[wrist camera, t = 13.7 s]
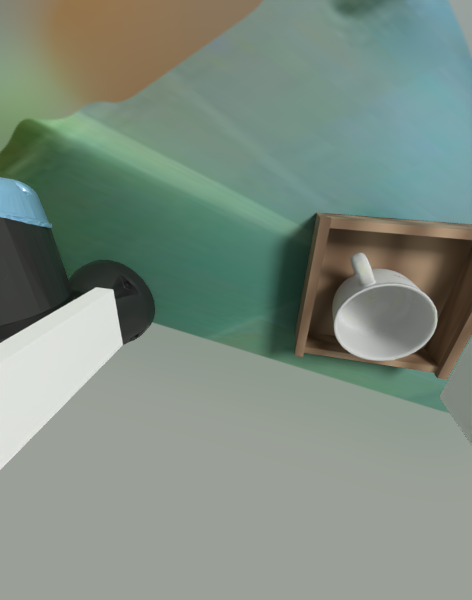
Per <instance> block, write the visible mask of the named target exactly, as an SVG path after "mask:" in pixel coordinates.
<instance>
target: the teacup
mask: <svg viewBox="0 0 472 600" xmlns="http://www.w3.org/2000/svg"><path fill="white" fill-rule="evenodd" d="M350 262H351V265H352V268H353V271H354V275H352V276H351V277H349V278H348V279H346V280H345V281H344V282H343V283H342V284H341V285H340V286H339V288H338V289H337V291H336V293H335V295H334V299H333V304H332V314H333V322H334V326H333V327H334V333H335V336H336V338H337V340H338V342H339V343H340V344H341V346H342V347H343V348H344V349H345V350H347V351H348V352H349V353H351V354H353V355H355V356H357V357H360V358H363V359H367V360H375V361H387V360H395V359H399V358H402V357H405V356H408V355H410V354H412V353H414V352H416V351H417V350H419V349H420V348H421V347H423V346H424V345H425V344H426V343H427V342H428V341H429V340H430V338H431V337H432V335H433V334H434V331H435V329H436V326H437V321H438V318H437V310H436V307H435V305H434V304H433V302H432V300H431V299H430V298H429V297H428V296H427V295H426V294H425V293H424V292H422V291H421V290H420V289H419V288H418V287H417V286H416V285H415V284H414V283H413V282H412V281H410V280H409V279H408V278H407V277H405V276H403V275H402V274H400V273H398V272H395V271H392V270H388V269H371V266H370V264H369V262H368V259H367V258H366V256H365V254H363V253H357V254H355V255H353V256H351V258H350Z"/></svg>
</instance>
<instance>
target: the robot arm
mask: <svg viewBox="0 0 472 600" xmlns="http://www.w3.org/2000/svg"><path fill="white" fill-rule="evenodd" d="M51 229H52V225H51V224H50V223H49V222H48V220H47V217H46V215H45V212H44V210H43V207H42V205H41V202H40V200H39V198H38V196H37V194H36V193H35V191H34V190H33V189H32V188H31V187H29V186H28V185H26V184H24V183H22V182H20V181H17V180H13V179H7V178H0V470H1V469H2V468H3V467H4V466H5V465H6V464H7V462H8V461H10V460H11V458H12V457H13V456H14V455H15V454H16V453H17V452H18V451H19V450H20V449H21V448H22V447H23V446H24V445H25V444H26V443H27V442H28V441H29V440H30V439H31V438H32V437H33V436H34V435H35V434H36V433H37V432H38V431H39V430H40V429H41V428H42V427H43V426H44V425H45V424H46V423H47V422H48V421H49V420H50V419H51V418H52V417H53V416H54V415H55V414H56V413H57V412H58V411H59V410H60V409H61V408H62V407H63V406H64V404H65V403H66V402H67V401H68V400H69V399H70V398H71V397H72V396H73V395H74V394H75V393H76V392H77V391H78V390H79V389H80V388H81V387H82V386H83V385H84V384H85V383H86V382H87V381H88V380H89V379H90V378H91V377H92V376H93V375H94V374H95V373H96V372H97V371H98V370H99V369H100V368H101V367H102V366H103V365H104V364H105V363H106V362H107V361H108V359H110V358H111V357H112V356H113V355H114V354H115V353H116V351H118V349H119V348H120V347H121V346H122V345H124V344H126V343H128V342H130V341H133V340H135V339H137V338H138V337H140V336H141V335H142V334H143V333H144V332H145V331H146V330H147V329H148V328H149V326H150V325H151V323H152V321H153V319H154V314H155V306H154V300H153V297H152V294H151V292H150V290H149V288H148V287H147V285H146V284H145V282H144V281H143V280H142V279H141V278H140V277H139V276H138V275H137V274H136V273H135V272H134V271H133V270H131V269H130V268H128V267H126V266H125V265H123V264H120V263H118V262H114V261H110V260H98V261H94V262H91V263H89V264H87V265H84V266H82V267H81V268H79V269H78V270H76V271H75V272H74V274H73V275H72V276H71V278H70V279H69V280H68V278H67V275H66V272H65V269H64V266H63V264H62V261H61V258H60V255H59V252H58V249H57V246H56V243H55V240H54V237H53V234H52V231H51ZM440 399H441V400H442V402H443V403H444V405H445V406H446V408H447V409H448V411H449V412H450V414H451V415H452V417H453V418H454V420H455V421H456V423H457V424H458V426H459V427H460V428H461V430H462V432H463V433H464V435H465V436H466V437H467V439H468V440H469V442H470V444H471V445H472V339H471V340H470V342H469V344H468V346H467V348H466V349H465V351H464V353H463V355H462V357H461V359H460V360H459V362H458V364H457V366H456V368H455V369H454V371H453V373H452V375H451V377H450V379H449V380H448V382H447V384H446V386H445V388H444V389H443V391H442V393H441V395H440Z"/></svg>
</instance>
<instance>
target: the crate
mask: <svg viewBox="0 0 472 600" xmlns="http://www.w3.org/2000/svg"><path fill="white" fill-rule="evenodd" d="M357 253H363V254H365V256H366V258H367V259H368V262H369V264H370V266H371V269H388V270H392V271H395V272H398V273H400V274H402V275H403V276H405V277H407V278H408V279H409V280H410V281H412V282H413V283H414V284H415V285H416V286H417V287H418V288H419V289H420V290H421V291H422V292H424V293H425V294H426V295H427V296H428V297H429V298H430V299H431V300H432V302H433V304H434V305H435V307H436V310H437V318H438V321H437V326H436V329H435V331H434V334H433V335H432V337H431V338H430V340H429V341H428V342H427V343H426V344H425V345H424V346H423V347H421V348H420V349H419V350H417V351H416V352H414V353H412V354H410V355H408V356H405V357H402V358H399V359H395V360H387V361H375V360H367V359H363V358H360V357H357V356H355V355H353V354H351V353H349V352H348V351H347V350H345V349H344V348H343V347H342V346H341V344H340V343H339V342H338V340H337V338H336V336H335V333H334V327H333V326H334V322H333V314H332V304H333V299H334V295H335V293H336V291H337V289H338V288H339V286H340V285H341V284H342V283H343V282H344V281H345V280H346V279H348V278H349V277H351V276H352V275H354V271H353V268H352V265H351V262H350V258H351V256H353V255H355V254H357ZM471 335H472V224H458V223H445V222H432V221H419V220H406V219H393V218H380V217H367V216H353V215H340V214H327V213H316V219H315V224H314V230H313V235H312V241H311V246H310V252H309V257H308V263H307V268H306V274H305V279H304V285H303V290H302V296H301V301H300V307H299V312H298V318H297V324H296V329H295V352H294V354H295V356H300V357H303V354H304V353H309V354H316V355H322V356H329V357H335V358H342V359H348V360H355V361H362V362H368V363H375V364H381V365H388V366H394V367H401V368H407V369H414V370H420V371H427V372H433V373H435V375H436V377H437V378H441V379H448V377H449V375H450V373H451V371H452V370H453V368H454V366H455V364H456V362H457V360H458V359H459V357H460V355H461V353H462V351H463V349H464V348H465V346H466V344H467V342H468V340H469V338H470V337H471Z"/></svg>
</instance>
